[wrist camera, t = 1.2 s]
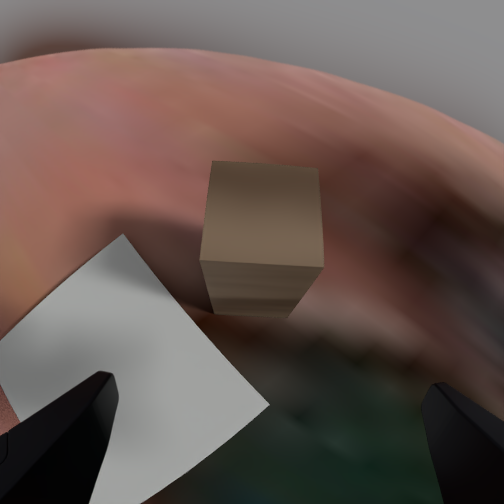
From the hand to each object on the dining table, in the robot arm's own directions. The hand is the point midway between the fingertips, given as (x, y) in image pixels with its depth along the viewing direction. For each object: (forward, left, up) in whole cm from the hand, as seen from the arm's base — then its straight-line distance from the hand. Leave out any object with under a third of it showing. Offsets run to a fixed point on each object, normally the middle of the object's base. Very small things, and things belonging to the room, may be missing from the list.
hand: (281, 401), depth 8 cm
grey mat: (-8, +7, -13) cm, 17 cm away
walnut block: (+5, +6, -13) cm, 15 cm away
